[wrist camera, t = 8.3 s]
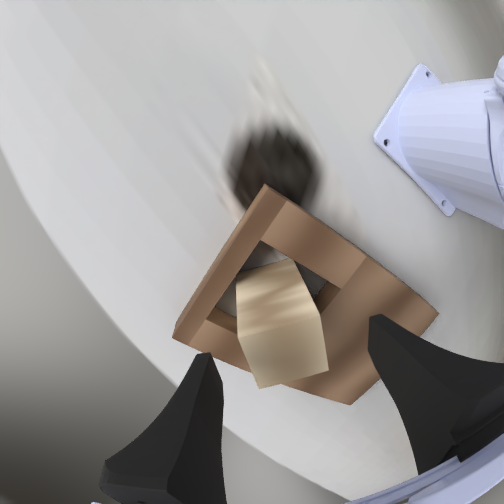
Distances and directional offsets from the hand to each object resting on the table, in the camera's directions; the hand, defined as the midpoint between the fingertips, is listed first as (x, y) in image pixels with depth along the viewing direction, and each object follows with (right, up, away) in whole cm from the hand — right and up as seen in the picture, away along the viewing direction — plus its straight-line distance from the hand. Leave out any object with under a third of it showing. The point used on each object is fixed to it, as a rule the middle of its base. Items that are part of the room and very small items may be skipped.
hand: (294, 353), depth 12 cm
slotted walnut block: (+3, 0, +9) cm, 10 cm away
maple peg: (-1, +2, +8) cm, 9 cm away
